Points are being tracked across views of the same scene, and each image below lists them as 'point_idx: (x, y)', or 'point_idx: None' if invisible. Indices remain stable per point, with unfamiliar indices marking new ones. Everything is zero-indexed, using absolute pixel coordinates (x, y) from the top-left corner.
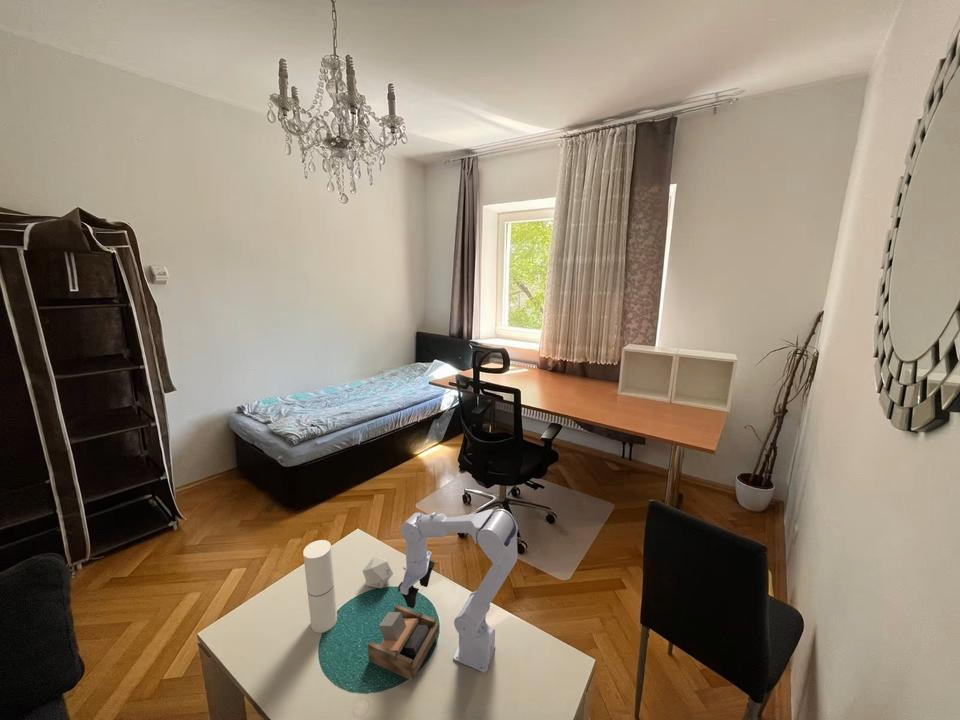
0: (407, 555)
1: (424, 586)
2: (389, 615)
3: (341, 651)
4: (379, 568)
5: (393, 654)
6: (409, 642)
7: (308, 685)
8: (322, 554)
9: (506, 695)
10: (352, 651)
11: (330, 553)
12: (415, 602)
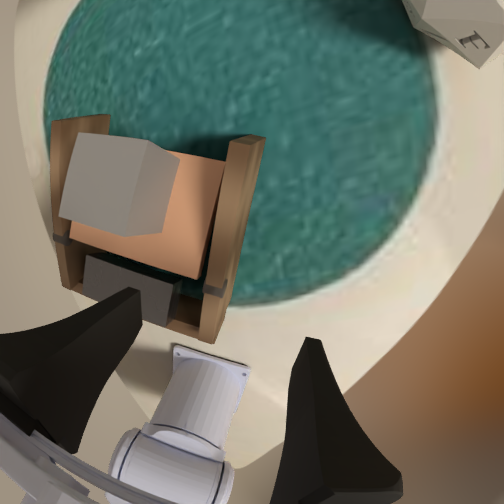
0: None
1: (296, 358)
2: (120, 162)
3: (114, 16)
4: None
5: (56, 228)
6: (100, 270)
7: (44, 19)
8: None
9: (155, 406)
10: (117, 45)
11: None
12: (125, 352)
